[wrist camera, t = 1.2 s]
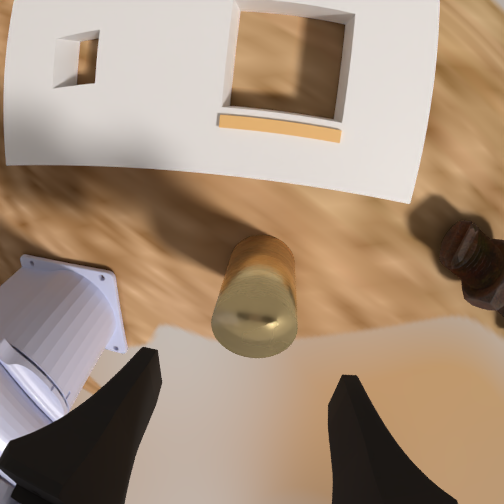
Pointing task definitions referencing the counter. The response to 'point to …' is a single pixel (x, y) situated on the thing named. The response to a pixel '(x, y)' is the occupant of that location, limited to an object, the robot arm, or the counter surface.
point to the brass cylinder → (257, 299)
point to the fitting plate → (218, 92)
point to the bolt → (476, 264)
